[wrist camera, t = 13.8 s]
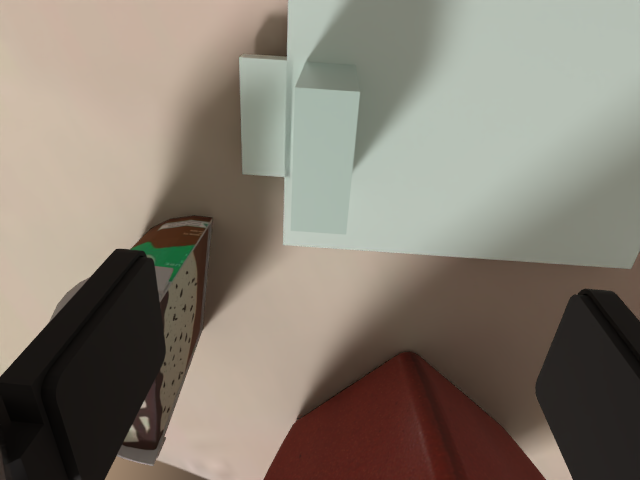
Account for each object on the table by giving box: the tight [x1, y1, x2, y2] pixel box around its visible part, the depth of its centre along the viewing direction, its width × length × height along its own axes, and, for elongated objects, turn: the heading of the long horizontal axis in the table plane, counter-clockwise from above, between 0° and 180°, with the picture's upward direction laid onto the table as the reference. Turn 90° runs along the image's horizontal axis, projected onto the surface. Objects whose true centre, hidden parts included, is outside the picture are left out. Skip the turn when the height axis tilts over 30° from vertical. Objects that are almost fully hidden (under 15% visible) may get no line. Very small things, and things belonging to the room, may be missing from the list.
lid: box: [239, 0, 640, 269], centre depth 22 cm, size 23×15×8 cm, turn 87°
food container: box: [49, 216, 213, 466], centre depth 26 cm, size 12×6×10 cm, turn 169°
